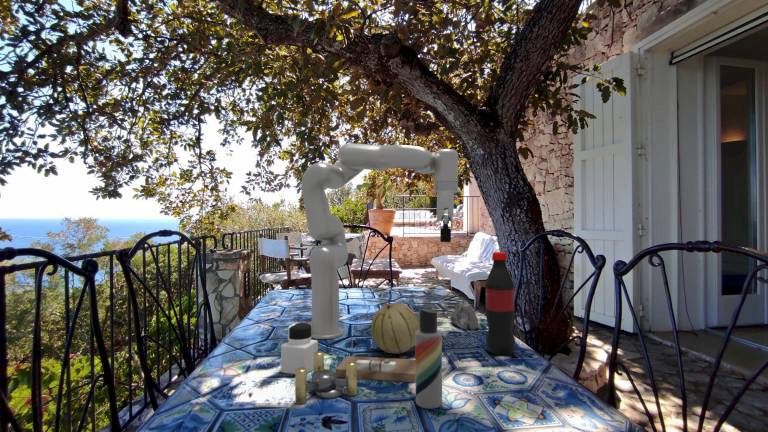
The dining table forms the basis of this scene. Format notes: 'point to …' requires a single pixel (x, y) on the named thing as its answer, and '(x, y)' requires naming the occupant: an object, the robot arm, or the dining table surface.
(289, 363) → the medicine bottle
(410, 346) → the cantaloupe
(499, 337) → the cola bottle
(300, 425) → the dining table surface
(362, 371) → the level board
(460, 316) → the mineral rock
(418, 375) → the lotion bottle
